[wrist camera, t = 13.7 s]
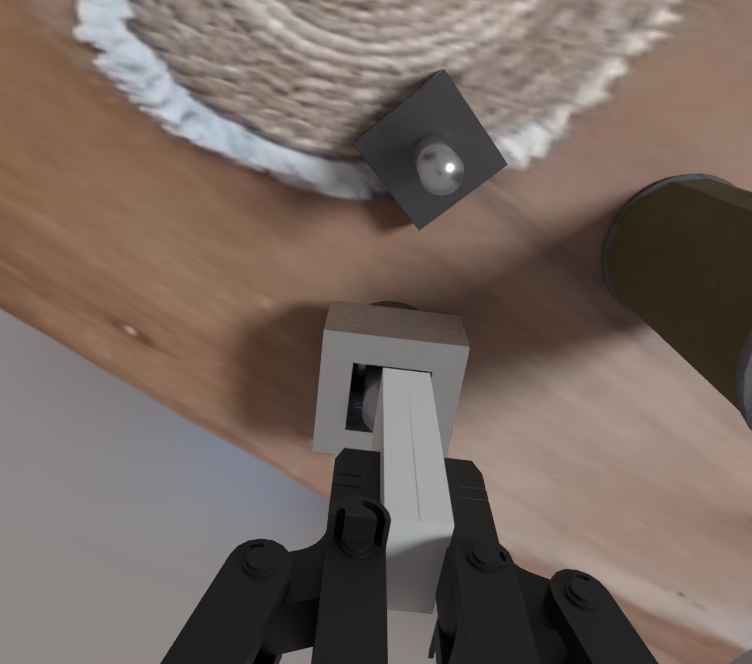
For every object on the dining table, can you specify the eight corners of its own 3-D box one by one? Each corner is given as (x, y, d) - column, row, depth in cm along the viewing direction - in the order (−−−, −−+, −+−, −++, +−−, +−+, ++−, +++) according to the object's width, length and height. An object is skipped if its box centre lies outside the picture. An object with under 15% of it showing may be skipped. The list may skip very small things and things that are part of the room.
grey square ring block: (330, 300, 39) (323, 329, 35) (460, 315, 40) (470, 347, 35) (320, 411, 43) (312, 451, 38) (438, 424, 43) (444, 466, 39)
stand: (355, 140, 37) (345, 160, 28) (440, 69, 36) (459, 67, 26) (417, 221, 39) (426, 265, 30) (500, 159, 38) (537, 185, 29)
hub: (313, 341, 43) (296, 403, 35) (398, 280, 41) (401, 331, 33) (378, 413, 46) (377, 486, 38) (461, 359, 44) (478, 424, 35)
